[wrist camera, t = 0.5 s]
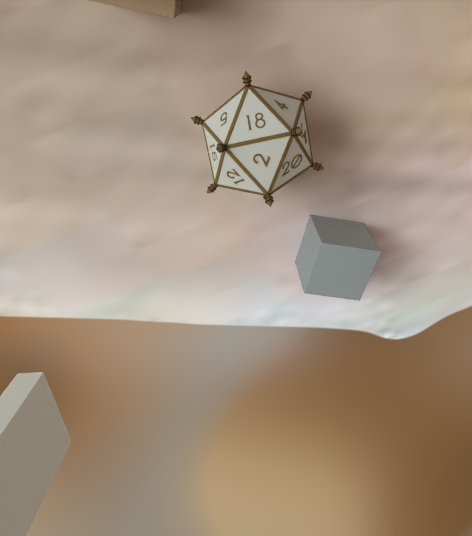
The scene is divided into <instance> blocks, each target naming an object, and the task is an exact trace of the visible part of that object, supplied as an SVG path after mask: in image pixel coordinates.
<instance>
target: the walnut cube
mask: <svg viewBox="0 0 472 536" xmlns="http://www.w3.org/2000/svg"><path fill="white" fill-rule="evenodd" d="M90 1H95V2H100V3H104V4H109V5H114V6H118V7H123V8H128V9H132V10H137V11H142V12H146V13H151V14H156V15H160V16H165V17H170V18H175V17H176V16H178V15H179V14H180V7H181V0H90Z"/></svg>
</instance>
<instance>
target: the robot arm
mask: <svg viewBox="0 0 472 536" xmlns="http://www.w3.org/2000/svg"><path fill="white" fill-rule="evenodd" d="M70 443H71V439H70V437H69V434H68V432H67V429H66V427H65V425H64V422H63V420H62V417H61V415H60V412H59V410H58V407H57V405H56V402H55V400H54V397H53V395H52V393H51V390H50V388H49V385H48V383H47V380H46V378H45V375H44V373H43V372H41V373H40V372H39V373H21V374H17V375H16V376H15V378H14V379H13V380H12V382H11V383H10V384H9V386H8V387H7V388H6V390H5V391H4V392H3V394H2V395H1V396H0V536H26V534H27V532H28V530H29V528H30V526H31V523H32V521H33V519H34V517H35V515H36V513H37V511H38V509H39V507H40V505H41V503H42V501H43V499H44V497H45V495H46V492H47V490H48V489H49V486H50V484H51V482H52V480H53V478H54V476H55V474H56V472H57V470H58V468H59V466H60V463H61V462H62V460H63V458H64V456H65V454H66V451H67V449H68V447H69V445H70Z"/></svg>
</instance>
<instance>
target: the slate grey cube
mask: <svg viewBox="0 0 472 536" xmlns="http://www.w3.org/2000/svg"><path fill="white" fill-rule="evenodd" d="M380 254H381V250H380V249H379V247H378V246H377V244H376V242H375V241H374V239H373V238H372V236H371V235H370V233H369V231H368V230H367V228H366V227H365V225H364V223H359V222H353V221H346V220H340V219H334V218H327V217H321V216H315V215H310V217H309V220H308V223H307V226H306V229H305V233H304V236H303V239H302V242H301V245H300V248H299V252H298V255H297V258H296V261H295V263H296V266H297V269H298V273H299V276H300V280H301V283H302V287H303V290H304V293H307V294H315V295H322V296H330V297H338V298H345V299H353V300H360V299H361V297H362V294H363V292H364V290H365V287H366V285H367V283H368V281H369V278H370V276H371V274H372V272H373V269H374V267H375V265H376V263H377V260H378V258H379V256H380Z"/></svg>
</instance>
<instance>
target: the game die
mask: <svg viewBox="0 0 472 536" xmlns="http://www.w3.org/2000/svg"><path fill="white" fill-rule="evenodd" d="M242 79H243V83H244V84H245V86H244V87H243V88H242V89H241V90H240V91H238V92H237V93H236V94H235V95H234V96H232V97H231V98H230V99H229V100H228V101H226V102H225V103H224V104H223V105H221V106H220V107H219V108H218V109H217V110H215V111H214V112H213V113H212V114H211V115H209V116H208V117H207V118H206V119H205V120H202V119H201V117H198V116H196V117H192V118H191V119H192V120H193V121H194V123H195V124H196V123H197V124H198V125H199V124H202V126H203V131H204V136H205V140H206V145H207V150H208V155H209V159H210V164H211V169H212V174H213V179H214V184H211V186H210V187H208V190H207V193H211V192H213V191H214V190H216V187H217V186H219V187H224V188H229V189H234V190H239V191H244V192H249V193H254V194H259V195H264V196H263V198H264V199H265V200H266V201H265V202H266V203H267V204H268V205H269V206H270V207H271V205H272V203H273V201H274V200H273V199H272V198H273V197H272V196H271V194H273V193H274V192H275V191H277V190H278V189H280V188H281V187H283V186H284V185H286V184H287V183H288V182H290V181H291V180H293V179H294V178H296V177H297V176H299V175H300V174H301V173H303V172H304V171H306V170H307V169H309V168H310V167H313V168H314V170H315V169H316V170H317V171H318V170H322V169H324V168H323V167H322V165H321V164H318V163H314V162H313V159H312V153H311V146H310V140H309V133H308V127H307V121H306V114H305V108H304V102H305V101H307V100H308V99H310V98H311V97H310V96H311V93H312V91H309V92H305V93H304V94H302V97H301V98H300V99H299V98H296V97H292V96H289V95H285V94H282V93H278V92H274V91H271V90H267V89H264V88H260V87H257V86H253V85H251V81H252V80H251V76H250V75H249V74H248V73H247V72H246V71H245V74H244V76H243V78H242Z"/></svg>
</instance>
